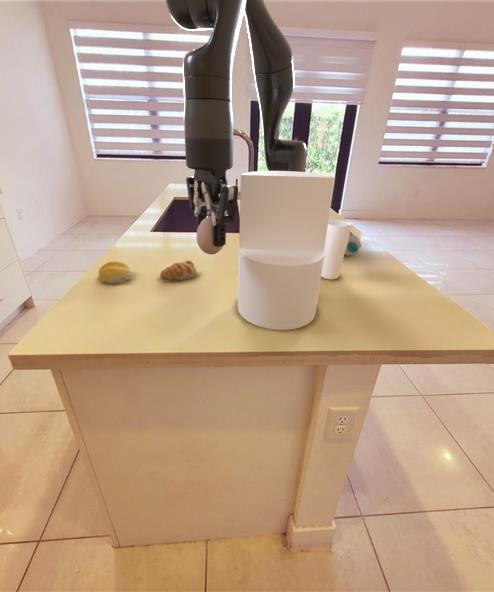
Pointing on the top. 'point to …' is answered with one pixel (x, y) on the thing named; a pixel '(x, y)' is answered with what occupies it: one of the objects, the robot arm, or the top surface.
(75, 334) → the top surface
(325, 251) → the drinking glass
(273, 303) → the white chair
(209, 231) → the egg
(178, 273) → the pastry
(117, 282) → the bread roll
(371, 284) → the top surface
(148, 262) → the top surface
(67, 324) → the top surface
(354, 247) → the detergent
